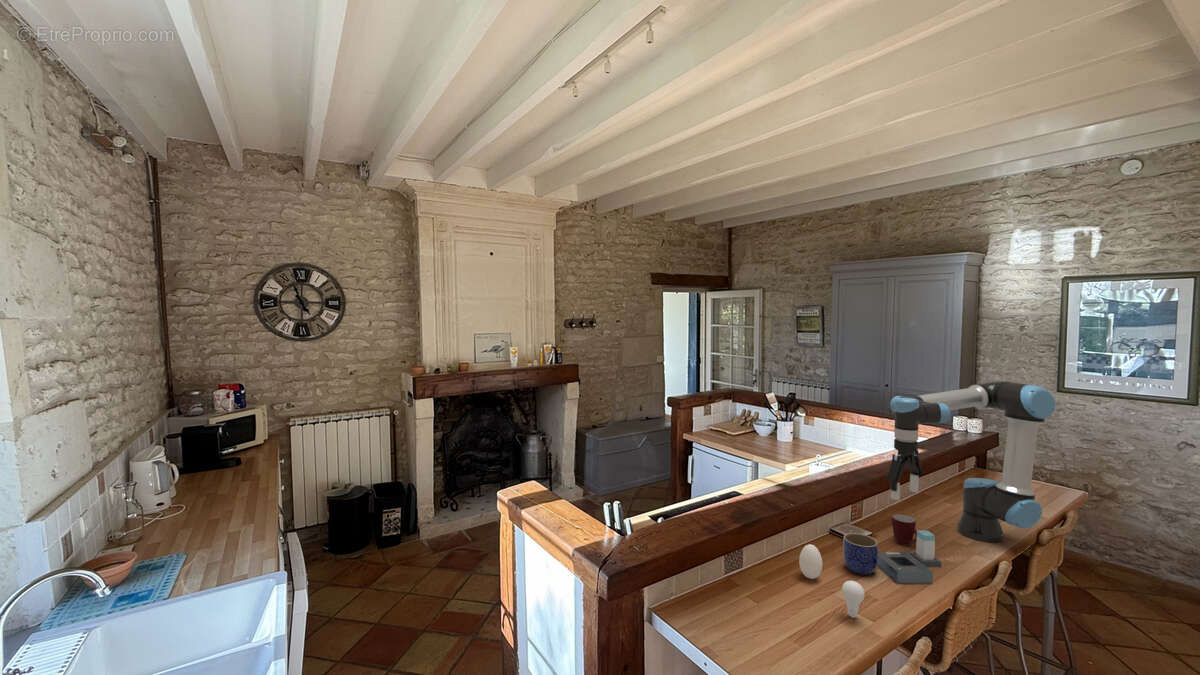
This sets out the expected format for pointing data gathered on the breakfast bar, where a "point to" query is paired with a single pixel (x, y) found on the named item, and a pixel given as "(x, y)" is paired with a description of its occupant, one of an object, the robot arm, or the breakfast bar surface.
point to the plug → (925, 545)
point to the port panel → (904, 568)
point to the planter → (860, 553)
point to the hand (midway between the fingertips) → (904, 495)
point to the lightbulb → (853, 596)
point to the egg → (810, 561)
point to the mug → (904, 528)
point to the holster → (927, 561)
